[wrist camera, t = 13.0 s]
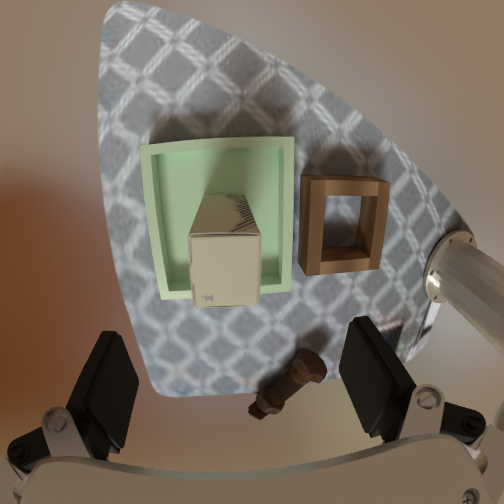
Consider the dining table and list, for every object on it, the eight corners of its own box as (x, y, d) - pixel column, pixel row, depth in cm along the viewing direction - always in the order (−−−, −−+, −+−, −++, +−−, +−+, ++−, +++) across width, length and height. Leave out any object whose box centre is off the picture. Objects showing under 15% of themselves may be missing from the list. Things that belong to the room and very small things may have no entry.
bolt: (249, 395, 43) (304, 342, 39) (271, 411, 42) (329, 361, 38) (236, 414, 38) (296, 361, 33) (260, 432, 37) (325, 382, 32)
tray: (286, 137, 26) (294, 136, 23) (284, 278, 32) (290, 291, 30) (147, 145, 25) (139, 145, 22) (165, 285, 31) (161, 299, 28)
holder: (373, 177, 29) (390, 182, 25) (365, 256, 32) (378, 268, 29) (300, 174, 28) (310, 180, 24) (297, 261, 32) (306, 276, 28)
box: (244, 240, 29) (261, 311, 17) (202, 240, 29) (192, 313, 17) (245, 190, 27) (265, 232, 15) (201, 191, 27) (185, 234, 15)
